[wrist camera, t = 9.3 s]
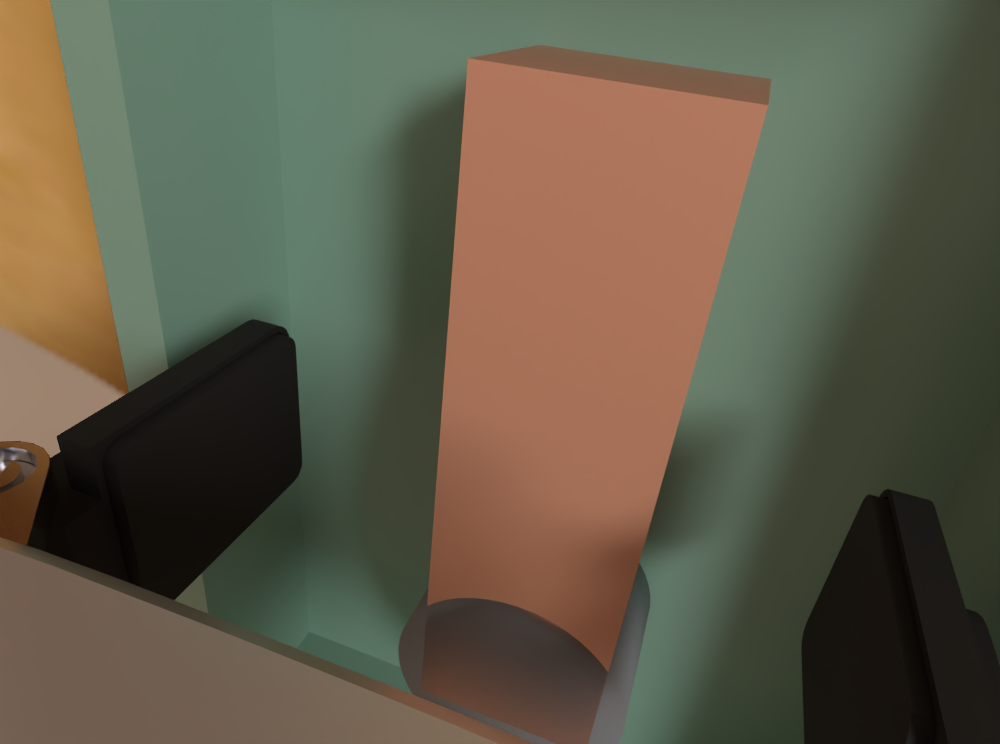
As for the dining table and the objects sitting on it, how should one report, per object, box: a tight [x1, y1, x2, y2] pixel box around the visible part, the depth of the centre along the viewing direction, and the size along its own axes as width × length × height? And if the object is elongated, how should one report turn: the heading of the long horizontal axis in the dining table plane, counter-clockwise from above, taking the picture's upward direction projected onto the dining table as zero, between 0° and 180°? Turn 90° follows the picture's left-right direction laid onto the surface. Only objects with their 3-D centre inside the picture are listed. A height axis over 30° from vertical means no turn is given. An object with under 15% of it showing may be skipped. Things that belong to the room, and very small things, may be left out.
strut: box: [398, 45, 771, 744], centre depth 13 cm, size 13×5×3 cm, turn 174°
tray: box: [50, 0, 1000, 744], centre depth 12 cm, size 21×15×4 cm
